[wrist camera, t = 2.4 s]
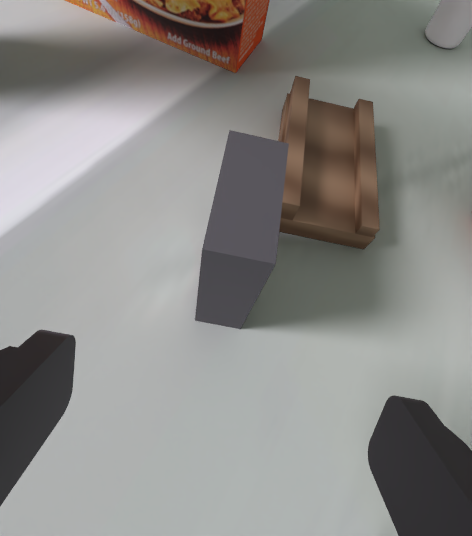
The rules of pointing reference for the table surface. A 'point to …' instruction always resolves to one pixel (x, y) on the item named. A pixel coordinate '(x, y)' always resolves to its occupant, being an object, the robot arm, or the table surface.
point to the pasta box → (192, 25)
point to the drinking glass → (450, 23)
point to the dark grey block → (241, 229)
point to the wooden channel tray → (329, 170)
